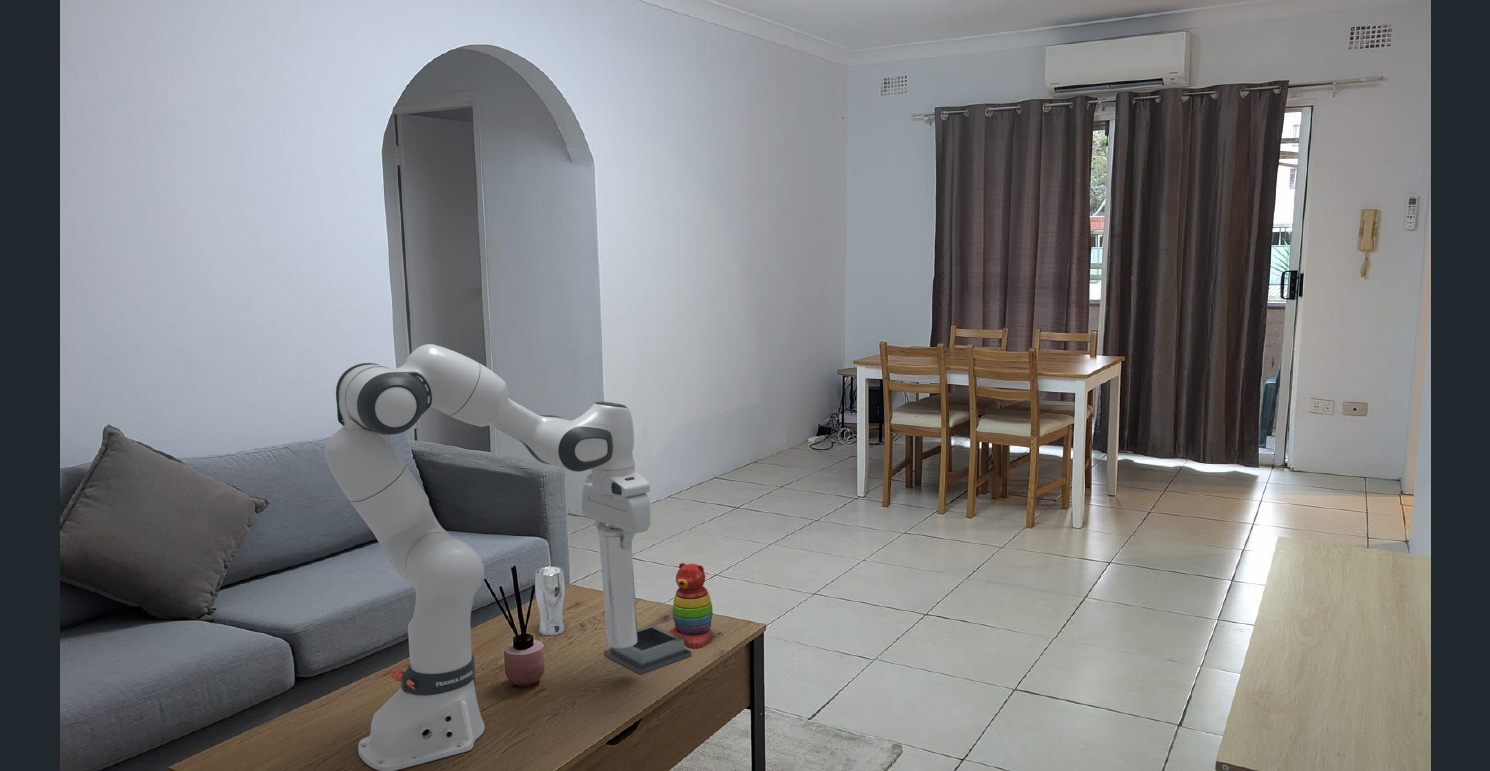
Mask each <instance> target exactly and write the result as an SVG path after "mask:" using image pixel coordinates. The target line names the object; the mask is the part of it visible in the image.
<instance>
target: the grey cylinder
mask: <svg viewBox="0 0 1490 771" xmlns="http://www.w3.org/2000/svg"><path fill="white" fill-rule="evenodd" d="M624 535H625V534H623V529H620V528H617V527H614V526H611V525H608V524H607V525H606V526H605V527H602V528H601V529H600V533H599V532H598V537H599V538H598V539H599V541H598V542H599V551H600V552H599V553H600V564H601V578H602V579H601V581H602V591H603V592H602V593H603V605H604V616H605V617H604V619H605V630H606V632H605V634H606V644H607V646H609V647H612V648H627V647H631V646H633V645H635V644H636V643H637V642H638V631H637V630H638V619H637V606H636V605H637V604H636V592H635V590H636V588H635V576H634V563H633V562H634V561H633V560H634V559H633V547H632V548H631V549H630V550H624V549H621V541H623V539H624Z"/></svg>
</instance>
